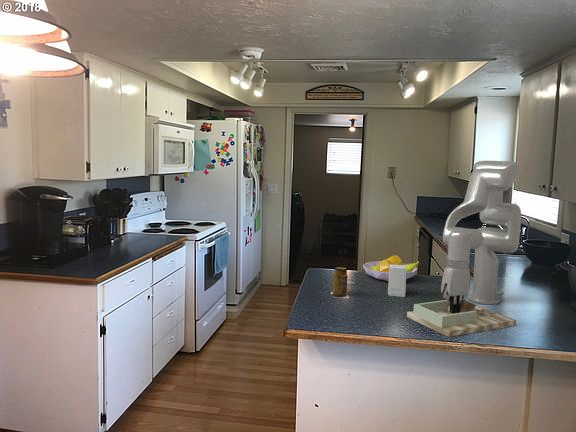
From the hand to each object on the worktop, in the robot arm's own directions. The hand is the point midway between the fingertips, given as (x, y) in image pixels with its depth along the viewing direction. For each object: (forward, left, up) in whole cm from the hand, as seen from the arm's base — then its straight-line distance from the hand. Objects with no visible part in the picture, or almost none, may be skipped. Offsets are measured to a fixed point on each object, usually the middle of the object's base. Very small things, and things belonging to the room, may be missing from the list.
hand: (454, 313), depth 179 cm
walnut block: (-4, 0, -1) cm, 4 cm away
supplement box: (-3, -38, -4) cm, 39 cm away
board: (-3, 0, -4) cm, 5 cm away
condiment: (+22, -45, -4) cm, 50 cm away
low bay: (+5, 0, -1) cm, 5 cm away
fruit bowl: (-18, -62, -4) cm, 65 cm away
